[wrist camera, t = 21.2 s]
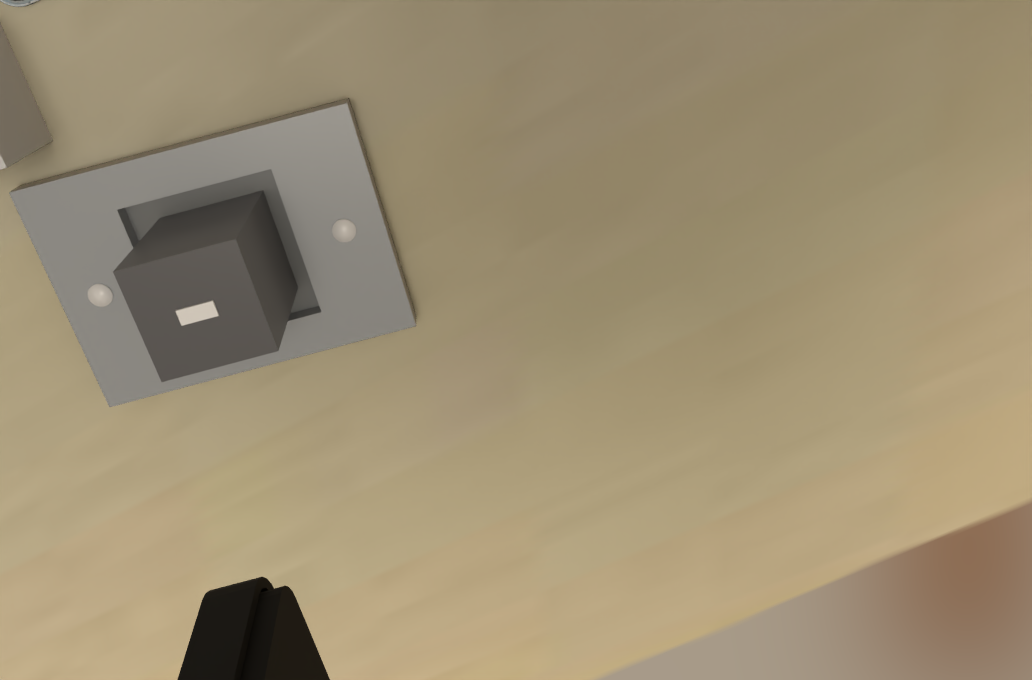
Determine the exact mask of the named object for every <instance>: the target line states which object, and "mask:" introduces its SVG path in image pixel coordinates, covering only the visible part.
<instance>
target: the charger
mask: <svg viewBox="0 0 1032 680" xmlns="http://www.w3.org/2000/svg"><path fill="white" fill-rule="evenodd" d="M113 273H114V276H115V278H116V280H117V282H118V285H119V287H120V289H121V292H122V294H123V296H124V298H125V301H126V303H127V305H128V307H129V310H130V312H131V314H132V316H133V319H134V321H135V323H136V325H137V328H138V330H139V332H140V334H141V337H142V339H143V341H144V344H145V346H146V348H147V350H148V353H149V355H150V357H151V359H152V362H153V364H154V366H155V368H156V371H157V373H158V375H159V377H160V380H161V382H165V381H168V380H172V379H176V378H180V377H183V376H187V375H191V374H195V373H198V372H202V371H206V370H210V369H213V368H217V367H221V366H225V365H228V364H232V363H236V362H239V361H243V360H247V359H251V358H254V357H258V356H262V355H266V354H269V353H273V352H277V351H279V348H280V344H281V341H282V338H283V335H284V332H285V328H286V325H287V322H288V319H289V316H290V312H291V309H292V306H293V303H294V300H295V297H296V293H297V290H298V285H297V282H296V280H295V277H294V274H293V271H292V269H291V266H290V263H289V260H288V258H287V255H286V252H285V249H284V246H283V244H282V241H281V238H280V235H279V233H278V230H277V227H276V224H275V222H274V219H273V216H272V213H271V210H270V208H269V205H268V202H267V199H266V197H265V194H264V191H263V190H262V191H258V192H255V193H251V194H247V195H243V196H240V197H236V198H232V199H228V200H225V201H221V202H217V203H214V204H210V205H206V206H202V207H199V208H195V209H191V210H187V211H184V212H180V213H176V214H172V215H169V216H165V217H161V218H159V219H158V220H157V222H156V223H155V224H154V225H153V226H152V227H151V228H150V230H149V231H148V232H147V233H146V234H145V235H144V237H143V238H142V239H141V240H140V241H139V242H138V243H137V245H136V246H135V247H134V248H133V249H132V250H131V251H130V253H129V254H128V255H127V256H126V257H125V258H124V259H123V261H122V262H121V263H120V264H119V265H118V266H117V268H116V269H115V270H114V271H113Z"/></svg>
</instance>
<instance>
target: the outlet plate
mask: <svg viewBox="0 0 1032 680" xmlns="http://www.w3.org/2000/svg"><path fill="white" fill-rule="evenodd" d="M262 190H263V191H264V194H265V197H266V199H267V202H268V205H269V208H270V210H271V213H272V216H273V219H274V222H275V224H276V227H277V230H278V233H279V235H280V238H281V241H282V244H283V246H284V249H285V252H286V255H287V258H288V260H289V263H290V266H291V269H292V271H293V274H294V277H295V280H296V282H297V285H298V290H297V293H296V297H295V300H294V303H293V306H292V309H291V312H290V316H289V319H288V322H287V325H286V328H285V332H284V335H283V338H282V341H281V344H280V348H279V351H277V352H273V353H269V354H266V355H262V356H258V357H254V358H251V359H247V360H243V361H239V362H236V363H232V364H228V365H225V366H221V367H217V368H213V369H210V370H206V371H202V372H198V373H195V374H191V375H187V376H183V377H180V378H176V379H172V380H168V381H165V382H161V380H160V377H159V375H158V373H157V371H156V368H155V366H154V364H153V362H152V359H151V357H150V355H149V353H148V350H147V348H146V346H145V344H144V341H143V339H142V337H141V334H140V332H139V330H138V328H137V325H136V323H135V321H134V319H133V316H132V314H131V312H130V310H129V307H128V305H127V303H126V301H125V298H124V296H123V294H122V292H121V289H120V287H119V285H118V282H117V280H116V278H115V276H114V273H113V271H114V270H115V269H116V268H117V266H118V265H119V264H120V263H121V262H122V261H123V259H124V258H125V257H126V256H127V255H128V254H129V253H130V251H131V250H132V249H133V248H134V247H135V246H136V245H137V243H138V242H139V241H140V240H141V239H142V238H143V237H144V235H145V234H146V233H147V232H148V231H149V230H150V228H151V227H152V226H153V225H154V224H155V223H156V222H157V220H158V219H159V218H161V217H165V216H169V215H172V214H176V213H180V212H184V211H187V210H191V209H195V208H199V207H202V206H206V205H210V204H214V203H217V202H221V201H225V200H228V199H232V198H236V197H240V196H243V195H247V194H251V193H255V192H258V191H262ZM9 194H10V196H11V198H12V200H13V202H14V205H15V207H16V209H17V211H18V213H19V215H20V217H21V219H22V222H23V224H24V226H25V228H26V230H27V232H28V234H29V237H30V239H31V241H32V243H33V245H34V247H35V249H36V251H37V254H38V256H39V258H40V260H41V262H42V264H43V266H44V268H45V271H46V273H47V275H48V277H49V279H50V281H51V283H52V286H53V288H54V290H55V292H56V294H57V296H58V298H59V300H60V303H61V305H62V307H63V309H64V311H65V313H66V315H67V317H68V320H69V322H70V324H71V326H72V328H73V330H74V332H75V335H76V337H77V339H78V341H79V343H80V345H81V347H82V349H83V352H84V354H85V356H86V358H87V360H88V362H89V364H90V366H91V369H92V371H93V373H94V375H95V377H96V379H97V381H98V384H99V386H100V388H101V390H102V392H103V394H104V396H105V398H106V401H107V403H108V405H109V407H112V406H116V405H120V404H123V403H127V402H131V401H135V400H139V399H142V398H146V397H150V396H154V395H157V394H161V393H165V392H169V391H173V390H176V389H180V388H184V387H188V386H191V385H195V384H199V383H203V382H207V381H210V380H214V379H218V378H222V377H226V376H229V375H233V374H237V373H241V372H244V371H248V370H252V369H256V368H260V367H263V366H267V365H271V364H275V363H278V362H282V361H286V360H290V359H294V358H297V357H301V356H305V355H309V354H312V353H316V352H320V351H324V350H328V349H331V348H335V347H339V346H343V345H347V344H350V343H354V342H358V341H362V340H365V339H369V338H373V337H377V336H381V335H384V334H388V333H392V332H396V331H399V330H403V329H407V328H411V327H415V326H416V314H415V311H414V308H413V305H412V301H411V298H410V295H409V292H408V288H407V285H406V282H405V279H404V275H403V272H402V269H401V266H400V263H399V259H398V256H397V253H396V250H395V246H394V243H393V240H392V237H391V233H390V230H389V227H388V224H387V220H386V217H385V214H384V211H383V207H382V204H381V201H380V198H379V194H378V191H377V188H376V185H375V182H374V178H373V175H372V172H371V169H370V165H369V162H368V159H367V156H366V152H365V149H364V146H363V143H362V139H361V136H360V133H359V130H358V126H357V123H356V120H355V117H354V113H353V110H352V107H351V104H350V101H349V98H348V99H344V100H340V101H336V102H333V103H329V104H325V105H321V106H318V107H314V108H310V109H306V110H303V111H299V112H295V113H291V114H287V115H284V116H280V117H276V118H272V119H269V120H265V121H261V122H257V123H254V124H250V125H246V126H242V127H238V128H235V129H231V130H227V131H223V132H220V133H216V134H212V135H208V136H204V137H201V138H197V139H193V140H189V141H186V142H182V143H178V144H174V145H171V146H167V147H163V148H159V149H155V150H152V151H148V152H144V153H140V154H137V155H133V156H129V157H125V158H122V159H118V160H114V161H110V162H106V163H103V164H99V165H95V166H91V167H88V168H84V169H80V170H76V171H73V172H69V173H65V174H61V175H57V176H54V177H50V178H46V179H42V180H39V181H35V182H31V183H27V184H23V185H20V186H18V187H17V188H15V189H14V190H12V191H11V192H9Z"/></svg>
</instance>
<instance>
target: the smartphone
mask: <svg viewBox="0 0 1032 680" xmlns="http://www.w3.org/2000/svg"><path fill="white" fill-rule="evenodd" d="M0 1H1V2H3V3H5V4H7V5H10V6H17V7H21V6H27V5H30V4H33V3H35V2H37V1H40V0H0Z"/></svg>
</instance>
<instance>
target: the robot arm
mask: <svg viewBox="0 0 1032 680" xmlns="http://www.w3.org/2000/svg"><path fill="white" fill-rule="evenodd" d="M178 680H330V679H329V677H328V674H327V672H326V669H325V667H324V665H323V662H322V660H321V657H320V655H319V653H318V650H317V648H316V645H315V643H314V641H313V638H312V636H311V633H310V631H309V629H308V626H307V624H306V622H305V619H304V617H303V614H302V612H301V610H300V607H299V605H298V602H297V600H296V598H295V596H294V594H293V592H292V590H291V589H290V588H289V587H288V586H283V587H279V588H275V589H274V588H273V586H272V584H271V583H270V582H269V581H268V579H267V578H264V577H259V578H256V579H252V580H248V581H244V582H240V583H237V584H233V585H229V586H225V587H221V588H218V589H214V590H210V591H209V592H207V593H206V594H205V596H204V598H203V600H202V603H201V606H200V609H199V612H198V616H197V619H196V622H195V625H194V629H193V632H192V635H191V638H190V641H189V645H188V648H187V651H186V654H185V658H184V661H183V664H182V667H181V670H180V674H179V677H178Z"/></svg>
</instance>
